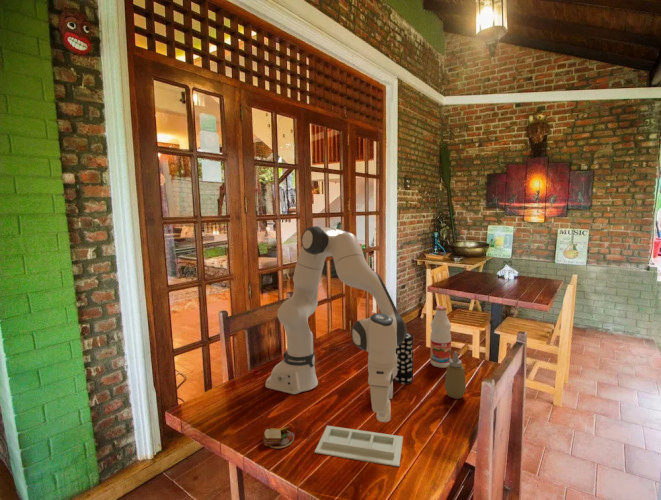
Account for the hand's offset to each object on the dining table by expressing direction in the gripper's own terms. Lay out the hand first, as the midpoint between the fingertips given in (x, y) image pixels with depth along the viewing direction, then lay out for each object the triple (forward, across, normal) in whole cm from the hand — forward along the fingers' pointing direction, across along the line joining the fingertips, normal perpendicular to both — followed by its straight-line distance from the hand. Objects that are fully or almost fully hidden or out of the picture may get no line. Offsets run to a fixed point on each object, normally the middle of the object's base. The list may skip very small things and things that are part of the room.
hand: (383, 410), depth 113 cm
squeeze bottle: (+13, -39, +24) cm, 47 cm away
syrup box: (+13, -33, -3) cm, 36 cm away
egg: (+3, 0, 0) cm, 3 cm away
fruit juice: (+13, -68, +19) cm, 72 cm away
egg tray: (+13, 0, -8) cm, 15 cm away
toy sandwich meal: (+13, +4, -34) cm, 37 cm away
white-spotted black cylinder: (+13, -48, +3) cm, 50 cm away
